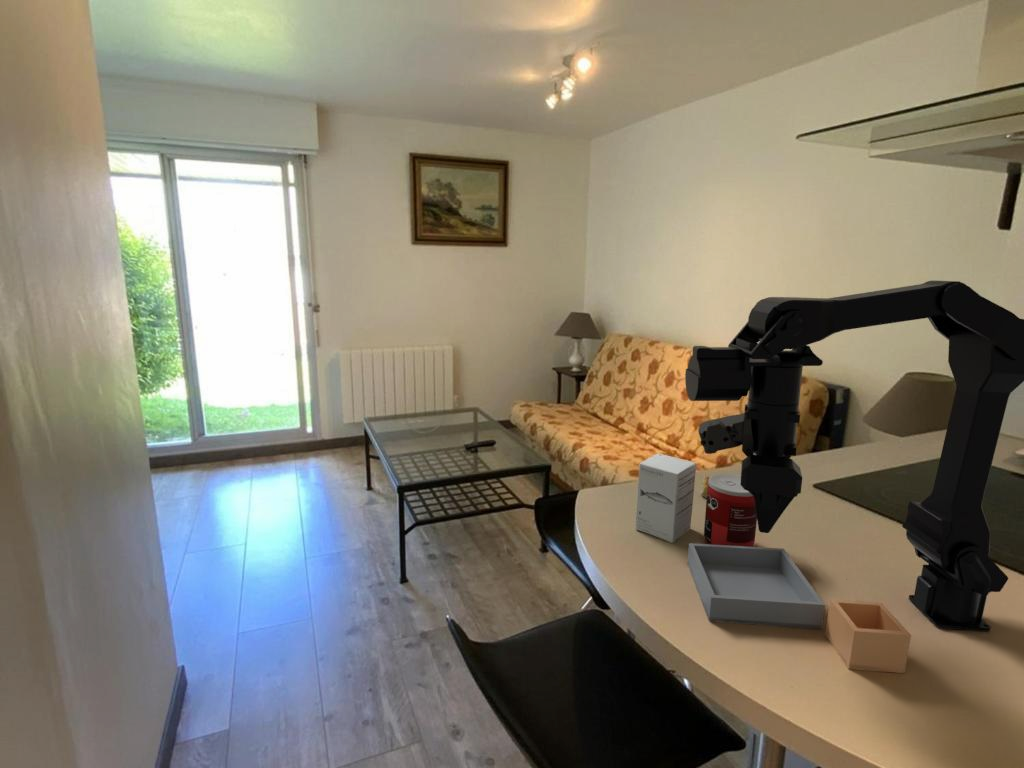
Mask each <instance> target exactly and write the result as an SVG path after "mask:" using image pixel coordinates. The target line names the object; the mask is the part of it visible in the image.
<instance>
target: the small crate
mask: <svg viewBox="0 0 1024 768" xmlns="http://www.w3.org/2000/svg"><path fill="white" fill-rule="evenodd" d="M826 619H827V621H826V627H825V636H826V638H827V639H828V641H829V642H830V644H831V645H832V647H833V649H834V650H835V651H836V652H837V655H839V657H840V658H841V660H842V662H843V663H844V664H845V666H846V667H847V669H848V670H858V671H859V670H860V671H869V672H870V671H871V672H882V673H883V672H884V673H897V674H898V673H899V674H905V671H906V667H907V666H906V665H907V661H908V654H909V650H910V644H911V639H912V634H911V633H910V632H909V631H908V630H907V629H906V628H905V626H903V624H902V623H901V622H900V621H899V620H898V618H896V617H895V615H893V613H892V612H891V611H890V610H889V608H888V607H886V606H885V604H884V603H883V602H879V601H878V602H875V601H864V600H863V601H862V600H861V601H860V600H846V599H833V598H832V599H829V605H828V612H827V618H826Z"/></svg>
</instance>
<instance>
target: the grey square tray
mask: <svg viewBox="0 0 1024 768" xmlns="http://www.w3.org/2000/svg"><path fill="white" fill-rule="evenodd" d="M687 550H688V552H687V553H688V554H687V566H688V569H689V571H690V574H691V577H692V579H693V582H694V585H695V587H696V590H697V593H698V596H699V598H700V601H701V603H702V606H703V608H704V611H705V614H706V616H707V620H708V621H709V622H714V623H715V622H716V623H717V622H718V623H727V624H728V623H729V624H730V623H733V624H743V625H756V626H757V625H758V626H759V625H760V626H771V627H785V628H786V627H787V628H799V629H802V628H803V629H813V630H814V629H815V630H822V628H823V623H824V622H823V621H824V615H825V611H826V610H825V609H826V604H825V603H824V601H823V600H822V599H821V597H820V596H819V594H818V593H817V592H816V591H815V589H814V588H813V587H812V585H811V583H810V582H809V581H808V580H807V578H806V577H805V575H804V574H803V573H802V571H801V570H800V569H799V567H798V566H797V565H796V563H795V561H794V560H793V559H792V557H790V555H789V553H788V552H787V551H786V550H785V548H782V547H781V548H779V547H762V546H761V547H758V546H754V547H746V546H728V545H711V544H706V543H688V549H687Z"/></svg>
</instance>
